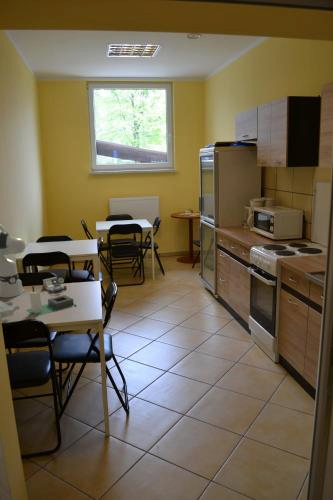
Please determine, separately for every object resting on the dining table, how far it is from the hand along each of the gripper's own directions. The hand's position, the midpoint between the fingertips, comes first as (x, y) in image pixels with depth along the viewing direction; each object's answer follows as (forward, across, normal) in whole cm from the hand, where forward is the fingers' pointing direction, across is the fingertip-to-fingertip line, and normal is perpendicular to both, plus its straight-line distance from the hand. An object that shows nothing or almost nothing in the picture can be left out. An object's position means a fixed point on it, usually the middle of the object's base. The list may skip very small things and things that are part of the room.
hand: (15, 305), depth 228 cm
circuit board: (+21, 0, +8) cm, 22 cm away
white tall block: (+12, 0, +7) cm, 14 cm away
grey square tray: (+27, 0, +8) cm, 29 cm away
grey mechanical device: (+40, +34, +9) cm, 53 cm away
